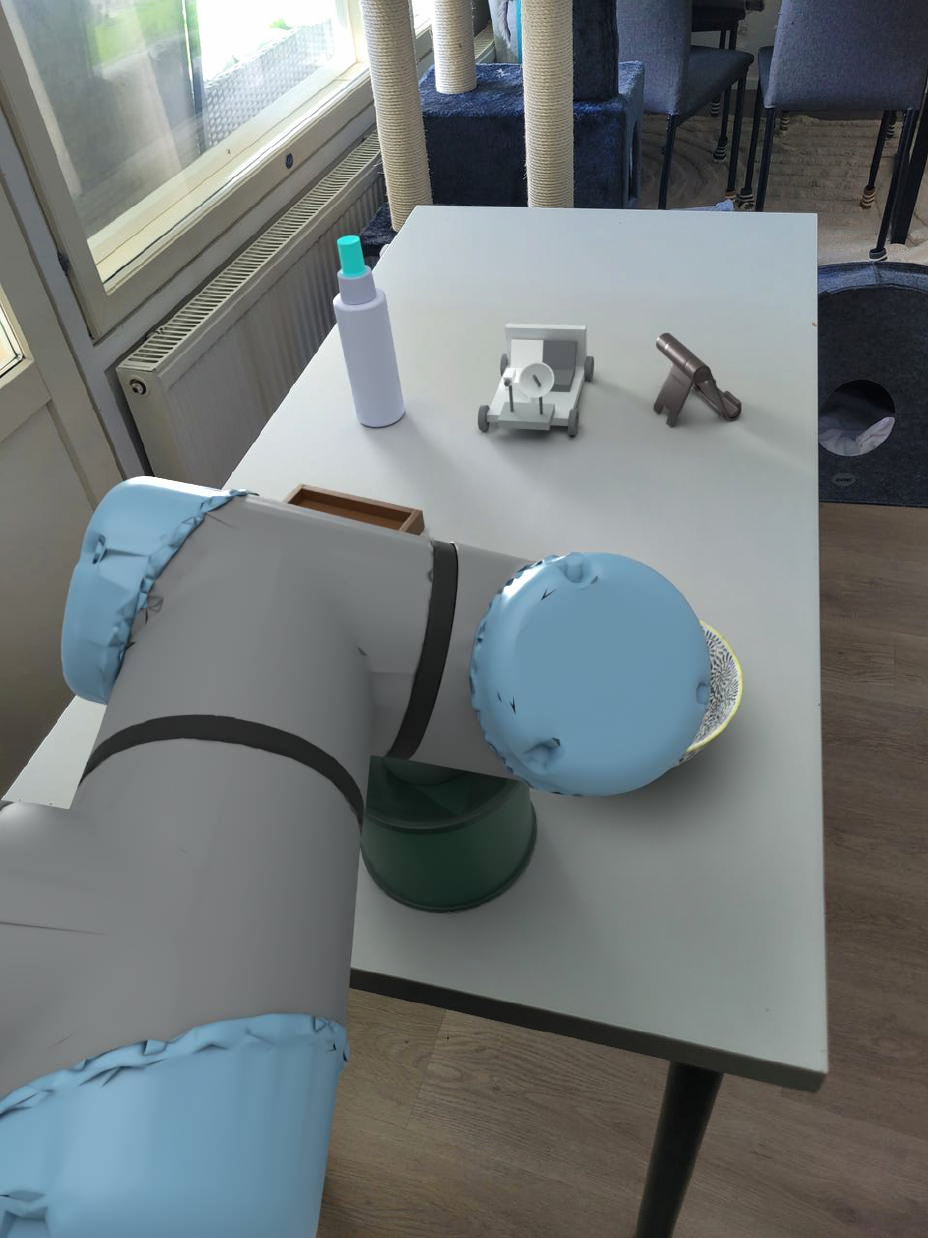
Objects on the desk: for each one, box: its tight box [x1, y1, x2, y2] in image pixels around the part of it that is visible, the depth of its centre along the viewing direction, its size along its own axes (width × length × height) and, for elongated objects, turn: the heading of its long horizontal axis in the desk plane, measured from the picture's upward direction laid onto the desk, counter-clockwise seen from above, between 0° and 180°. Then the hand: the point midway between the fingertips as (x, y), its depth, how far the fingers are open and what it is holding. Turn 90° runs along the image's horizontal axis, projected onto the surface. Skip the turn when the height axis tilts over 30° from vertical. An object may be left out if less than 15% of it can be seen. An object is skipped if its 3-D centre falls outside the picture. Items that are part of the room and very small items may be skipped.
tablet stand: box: [652, 332, 743, 427], centre depth 107 cm, size 9×8×8 cm
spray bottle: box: [332, 234, 405, 428], centre depth 108 cm, size 6×6×22 cm
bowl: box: [669, 619, 744, 770], centre depth 73 cm, size 16×16×8 cm
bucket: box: [360, 755, 538, 914], centre depth 67 cm, size 14×14×11 cm
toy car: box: [477, 323, 595, 436], centre depth 110 cm, size 18×10×12 cm
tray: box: [281, 483, 426, 536], centre depth 96 cm, size 16×16×2 cm
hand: (407, 684), depth 64 cm, fingers open, 8 cm apart
